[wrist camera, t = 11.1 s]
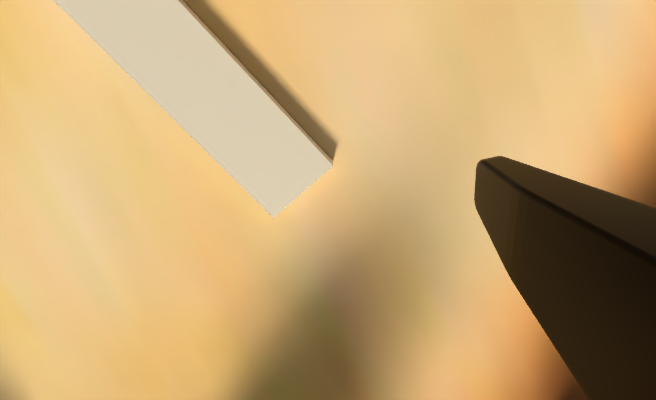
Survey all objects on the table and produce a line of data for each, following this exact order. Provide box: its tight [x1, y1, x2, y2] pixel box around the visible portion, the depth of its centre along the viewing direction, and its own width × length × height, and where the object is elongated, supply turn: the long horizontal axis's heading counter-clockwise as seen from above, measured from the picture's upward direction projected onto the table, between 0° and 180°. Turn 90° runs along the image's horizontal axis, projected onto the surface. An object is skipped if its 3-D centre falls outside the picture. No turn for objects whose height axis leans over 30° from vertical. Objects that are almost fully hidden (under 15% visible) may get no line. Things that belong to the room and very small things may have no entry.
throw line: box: [53, 0, 333, 218], centre depth 17 cm, size 16×3×1 cm, turn 42°
